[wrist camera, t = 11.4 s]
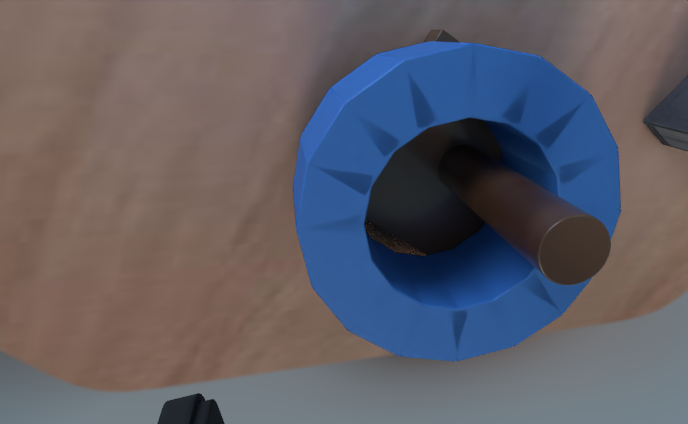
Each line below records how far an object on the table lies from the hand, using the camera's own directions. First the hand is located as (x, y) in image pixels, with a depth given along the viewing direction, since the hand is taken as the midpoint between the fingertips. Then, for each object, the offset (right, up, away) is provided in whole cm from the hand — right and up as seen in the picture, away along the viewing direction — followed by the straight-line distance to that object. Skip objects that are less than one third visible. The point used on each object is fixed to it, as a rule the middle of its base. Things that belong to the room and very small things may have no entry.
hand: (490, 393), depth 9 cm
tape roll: (+1, +4, +13) cm, 14 cm away
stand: (+2, +5, +15) cm, 16 cm away
